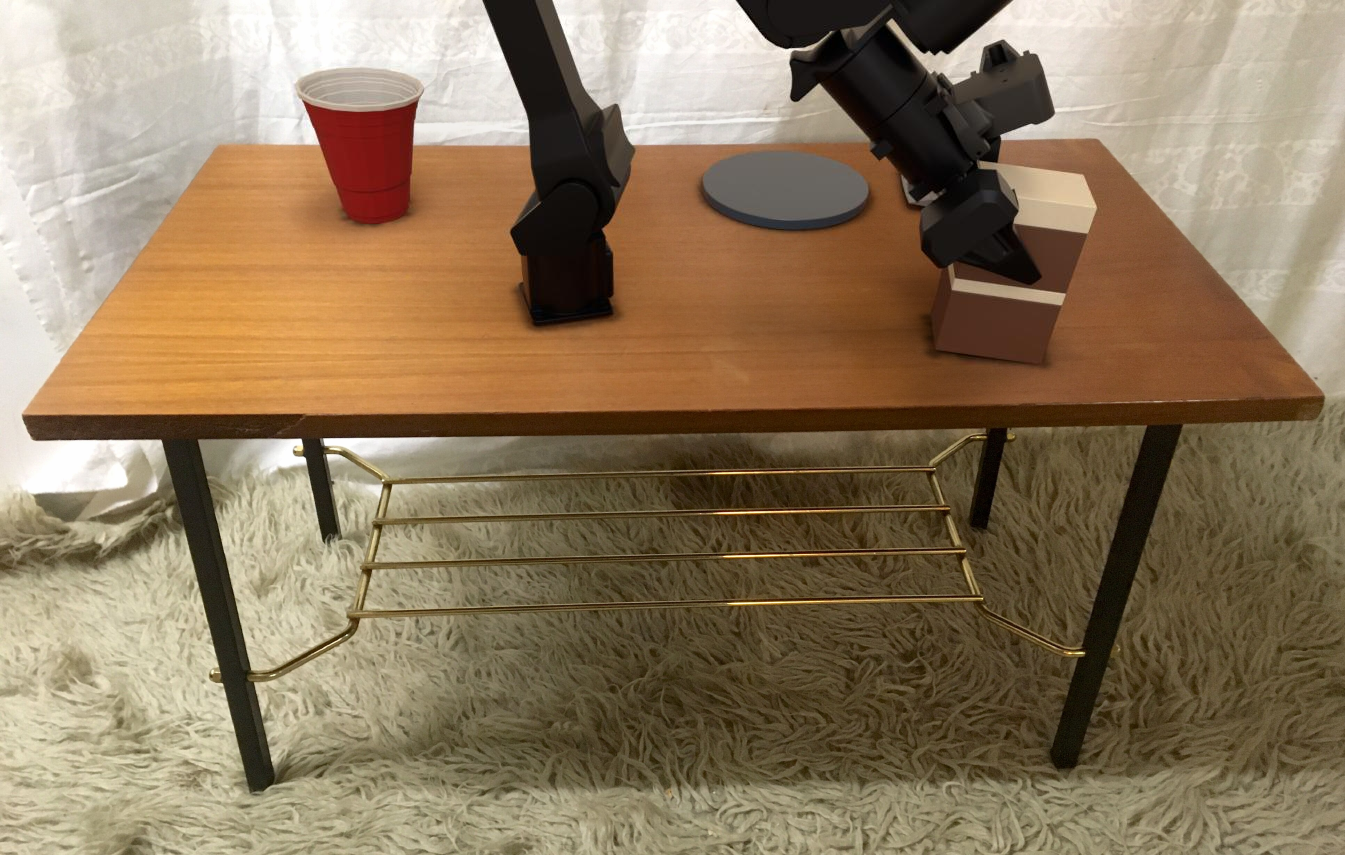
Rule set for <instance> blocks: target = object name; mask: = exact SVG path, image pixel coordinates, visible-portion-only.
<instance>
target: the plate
mask: <svg viewBox="0 0 1345 855" xmlns="http://www.w3.org/2000/svg"><path fill="white" fill-rule="evenodd" d="M869 190H870V188H869V184H868V182H867V180H866V179H865V178H864V176H863V175H862V174H861V173H860V172H859V171H857V170H856V169H854V168H852V167H851V166H850V165H848V164H845V163H844V162H841V161H838V160H836V159H833V158H830V157H827V156H823V155H819V154H815V153H810V152H804V151H797V150H796V151H795V150H782V149H781V150H780V149H779V150H777V149H775V150H757V151H756V150H755V151H748V152H744V153H743V152H742V153H738V154H734V155H731V156H728V157H725V158H723V159H720V160H719V161H717V162H715V163H714V164H712V165H711V166H710V167H708V169H707V170H706V171H705V173H704V174H703V177H702V195H703V197H704V200H705V201H706V202H707V203H708V204H709V205H710V206H711V207H712V208H713V209H714V210H715V211H717V212H718V213H720V214H722V215H724V216H726V217H728V218H731V219H732V220H736V221H738V222H740V223H743V224H747V225H750V226H751V225H752V226H757V227H760V228H761V227H762V228H768V229H777V230H789V231H790V230H791V231H798V230H799V231H800V230H801V231H802V230H813V229H816V230H817V229H822V228H828V227H833V226H836V225H840V224H843V223H845V222H847V221H850V220H852V219H854V218H855V217H857V216H859V214H861V212H863V211H864V209H865V207H866V206H867V204H868V199H869Z"/></svg>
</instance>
